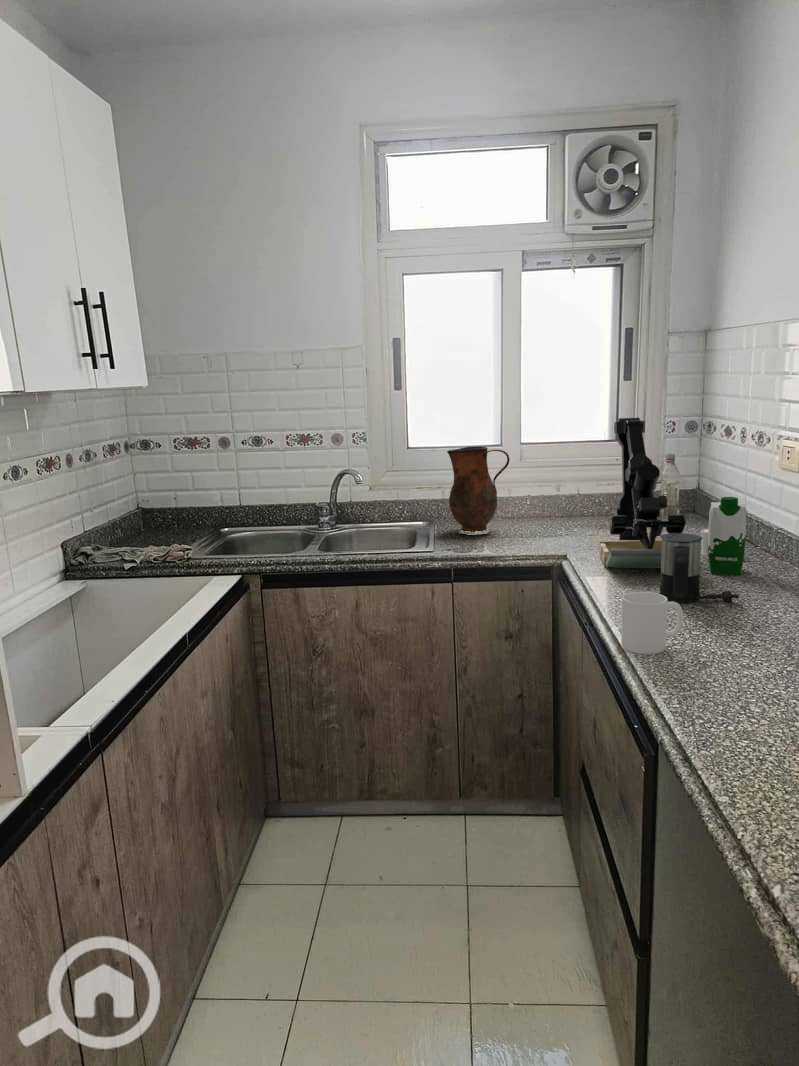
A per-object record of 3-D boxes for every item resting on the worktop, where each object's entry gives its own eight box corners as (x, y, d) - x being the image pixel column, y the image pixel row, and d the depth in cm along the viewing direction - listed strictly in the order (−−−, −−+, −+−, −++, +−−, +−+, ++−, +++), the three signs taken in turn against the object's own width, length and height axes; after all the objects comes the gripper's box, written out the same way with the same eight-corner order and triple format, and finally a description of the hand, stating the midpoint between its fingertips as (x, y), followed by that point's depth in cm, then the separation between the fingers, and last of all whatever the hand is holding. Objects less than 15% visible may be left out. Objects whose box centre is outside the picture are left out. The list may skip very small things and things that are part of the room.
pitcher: (450, 528, 258) (447, 446, 252) (509, 527, 256) (508, 443, 249) (449, 538, 242) (446, 450, 235) (512, 537, 239) (510, 448, 233)
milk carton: (708, 575, 185) (711, 499, 180) (705, 566, 193) (708, 493, 189) (745, 576, 182) (749, 499, 177) (741, 567, 190) (745, 494, 186)
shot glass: (728, 557, 201) (729, 533, 200) (702, 557, 202) (703, 533, 201) (722, 551, 208) (723, 528, 206) (697, 551, 209) (698, 528, 208)
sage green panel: (605, 561, 196) (611, 548, 184) (683, 561, 192) (694, 547, 180) (606, 567, 195) (611, 555, 183) (683, 567, 192) (694, 554, 180)
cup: (614, 641, 142) (615, 593, 140) (672, 636, 143) (673, 588, 141) (631, 657, 134) (632, 605, 132) (692, 651, 135) (694, 601, 133)
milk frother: (653, 592, 173) (655, 533, 170) (719, 590, 172) (722, 530, 169) (672, 611, 159) (675, 546, 156) (744, 608, 158) (748, 544, 155)
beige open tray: (599, 557, 208) (599, 540, 207) (674, 556, 204) (675, 539, 203) (604, 567, 196) (604, 550, 195) (684, 567, 193) (684, 549, 192)
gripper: (611, 485, 188) (616, 535, 179) (685, 484, 185) (694, 534, 176) (607, 509, 197) (612, 557, 189) (678, 508, 194) (686, 557, 185)
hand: (650, 551), depth 184 cm, fingers closed
